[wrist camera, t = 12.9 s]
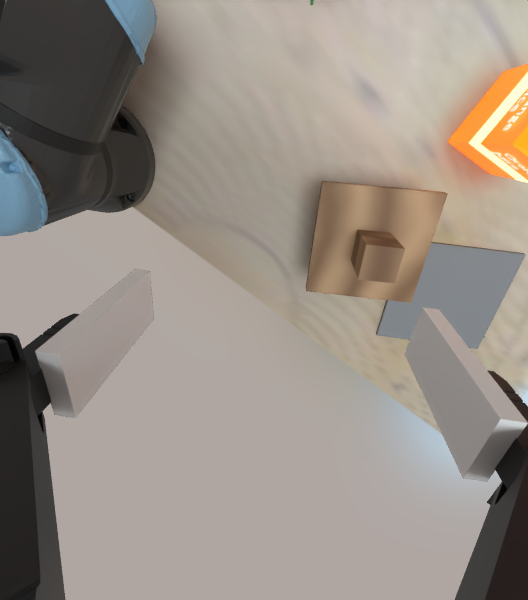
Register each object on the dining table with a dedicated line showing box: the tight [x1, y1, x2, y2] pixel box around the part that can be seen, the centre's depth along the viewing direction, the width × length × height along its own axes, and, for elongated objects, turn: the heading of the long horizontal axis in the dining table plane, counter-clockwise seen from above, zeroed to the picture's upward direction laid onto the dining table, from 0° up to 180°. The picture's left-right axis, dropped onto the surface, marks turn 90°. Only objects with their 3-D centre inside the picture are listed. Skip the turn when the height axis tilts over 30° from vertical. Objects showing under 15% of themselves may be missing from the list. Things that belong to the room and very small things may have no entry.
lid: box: [306, 181, 447, 303], centre depth 37 cm, size 14×14×7 cm
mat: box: [376, 242, 525, 349], centre depth 51 cm, size 17×17×1 cm
